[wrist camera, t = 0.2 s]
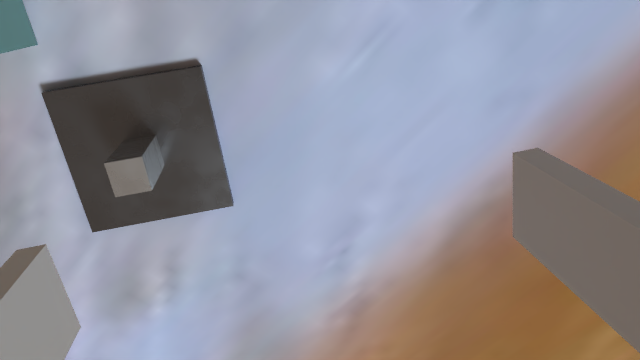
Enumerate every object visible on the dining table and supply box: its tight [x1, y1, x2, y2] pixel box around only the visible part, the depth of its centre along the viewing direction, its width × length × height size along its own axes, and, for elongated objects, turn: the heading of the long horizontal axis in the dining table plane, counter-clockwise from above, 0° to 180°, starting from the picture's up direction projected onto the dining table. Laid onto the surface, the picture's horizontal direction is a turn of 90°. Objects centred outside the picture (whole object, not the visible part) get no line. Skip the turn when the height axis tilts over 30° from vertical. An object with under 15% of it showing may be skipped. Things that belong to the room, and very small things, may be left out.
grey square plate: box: [42, 65, 234, 232], centre depth 37 cm, size 12×12×6 cm
